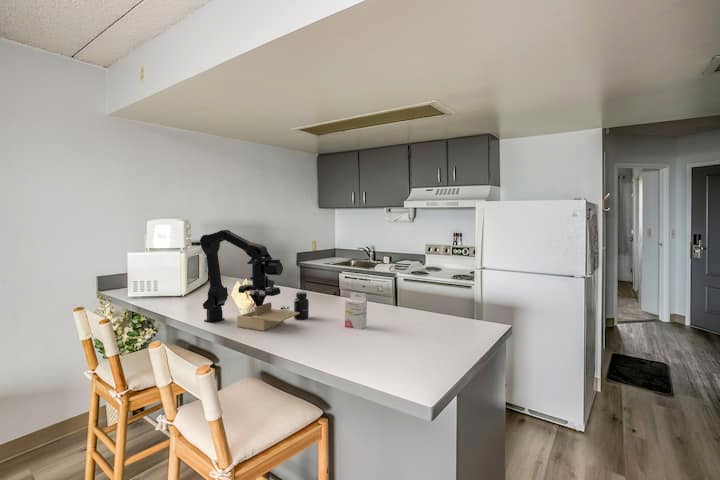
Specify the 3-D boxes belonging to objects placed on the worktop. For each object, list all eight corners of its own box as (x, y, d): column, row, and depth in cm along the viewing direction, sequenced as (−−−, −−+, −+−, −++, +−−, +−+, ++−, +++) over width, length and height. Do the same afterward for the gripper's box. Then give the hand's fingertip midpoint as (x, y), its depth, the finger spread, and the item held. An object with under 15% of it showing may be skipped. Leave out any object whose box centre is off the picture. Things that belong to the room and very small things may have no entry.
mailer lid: (251, 318, 157) (250, 308, 157) (272, 310, 170) (272, 301, 170) (279, 322, 151) (279, 312, 151) (299, 313, 165) (299, 304, 164)
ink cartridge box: (344, 327, 162) (344, 293, 161) (349, 324, 167) (349, 291, 166) (362, 329, 158) (362, 295, 158) (367, 326, 163) (367, 293, 162)
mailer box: (237, 327, 161) (237, 316, 160) (258, 319, 174) (258, 308, 173) (263, 331, 155) (263, 319, 155) (283, 322, 168) (283, 311, 168)
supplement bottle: (305, 320, 172) (305, 294, 171) (291, 319, 173) (291, 294, 172) (310, 316, 179) (310, 291, 178) (297, 315, 180) (297, 291, 179)
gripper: (287, 273, 167) (287, 307, 168) (253, 270, 174) (254, 303, 175) (272, 276, 157) (272, 313, 158) (237, 273, 164) (237, 308, 165)
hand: (259, 309), depth 164 cm, fingers closed
